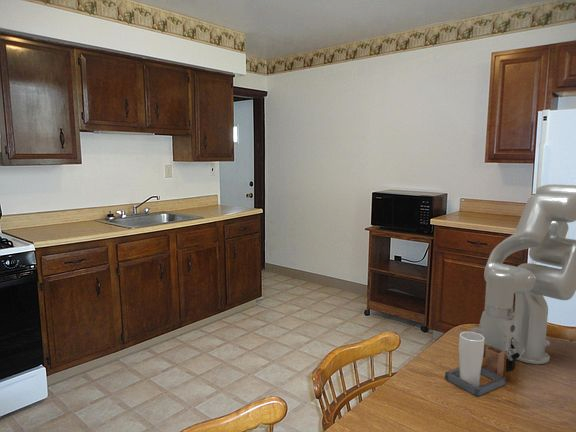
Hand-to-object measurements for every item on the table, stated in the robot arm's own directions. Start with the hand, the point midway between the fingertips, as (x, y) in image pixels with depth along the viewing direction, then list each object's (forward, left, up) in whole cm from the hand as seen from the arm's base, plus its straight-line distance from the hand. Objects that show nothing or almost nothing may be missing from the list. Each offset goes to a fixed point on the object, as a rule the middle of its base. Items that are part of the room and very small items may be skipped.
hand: (494, 364), depth 127 cm
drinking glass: (+12, 0, -3) cm, 12 cm away
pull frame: (+7, 0, -3) cm, 8 cm away
